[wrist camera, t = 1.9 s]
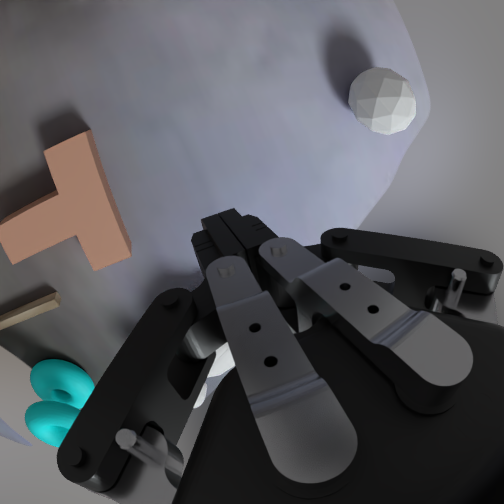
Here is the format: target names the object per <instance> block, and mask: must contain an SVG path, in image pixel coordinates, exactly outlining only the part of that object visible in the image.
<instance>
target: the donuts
mask: <svg viewBox="0 0 504 504" xmlns="http://www.w3.org/2000/svg"><path fill="white" fill-rule="evenodd" d="M30 381H31V385H32V387H33V389H34V391H35V392H36V394H37V395H38V396H39V397H40V398H41V399H42V400H43V401H40V402H36V403H34V404H32V405H31V406H29V407H28V409H27V410H26V413H25V422H26V425H27V427H28V429H29V430H30V432H31V433H32V434H33V435H34V436H36V437H37V438H38V439H40V440H41V441H43V442H45V443H47V444H50V445H52V446H55V447H60V445H61V443H62V441H63V439H64V438H65V436H66V434H67V433H68V431H69V429H70V427H71V426H72V424H73V422H74V421H75V419H76V417H77V416H78V414H79V412H80V411H81V410H79V409H80V408H83V406H84V404H85V403H86V401H87V399H88V398H89V396H90V395H91V393H92V391H93V390H94V384H93V381H92V379H91V378H90V376H89V375H88V374H87V373H86V372H85V371H84V370H82V369H81V368H80V367H78V366H76V365H74V364H72V363H70V362H67V361H64V360H59V359H47V360H43V361H40V362H39V363H37V364H36V365H35V366H34V367H33V369H32V371H31V374H30Z"/></svg>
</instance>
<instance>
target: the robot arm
mask: <svg viewBox="0 0 504 504" xmlns="http://www.w3.org/2000/svg"><path fill="white" fill-rule="evenodd" d="M201 223H202V227H203V230H202V231H199V232H196V233H194V234H193V236H192V239H191V242H192V245H193V248H194V251H195V254H196V257H197V260H198V263H199V266H200V269H201V271H202V273H203V276H204V278H205V279H204V281H203V282H202V284H201V285H200V286H199V287H198V288H196V289H195V290H193V291H192V292H190V291H188V290H187V289H184V288H174V289H170V290H167V291H165V292H163V293H161V294H160V295H158V296H157V297H156V298H155V300H154V301H153V302H152V304H151V305H150V306H149V308H148V309H147V311H146V312H145V313H144V315H143V316H142V318H141V319H140V321H139V322H138V324H137V325H136V326H135V328H134V329H133V331H132V332H131V334H130V335H129V337H128V338H127V340H126V341H125V343H124V344H123V345H122V347H121V348H120V350H119V351H118V353H117V354H116V356H115V357H114V359H113V360H112V362H111V364H110V365H109V367H108V368H107V370H106V371H105V373H104V374H103V376H102V377H101V379H100V380H99V382H98V384H97V385H96V387H95V388H94V390H93V391H92V393H91V395H90V396H89V398H88V399H87V401H86V403H85V404H84V406H83V408H82V409H81V411H80V412H79V414H78V416H77V417H76V419H75V421H74V422H73V424H72V426H71V427H70V429H69V431H68V433H67V434H66V436H65V438H64V439H63V441H62V443H61V445H60V447H59V449H58V453H57V464H58V468H59V470H60V472H61V473H62V475H63V476H64V477H65V478H66V479H68V480H70V481H71V482H73V483H76V484H78V485H80V486H82V487H85V488H86V489H88V490H89V491H91V492H94V493H96V494H99V495H101V496H104V497H107V498H109V499H112V500H114V501H116V502H118V503H119V504H504V327H502V326H500V325H498V321H497V313H496V305H495V298H494V291H495V289H496V287H497V284H498V281H499V279H500V276H501V273H502V270H503V263H502V261H501V260H500V258H499V257H498V256H496V255H495V254H493V253H492V252H489V251H486V250H482V249H476V248H470V247H465V246H459V245H453V244H448V243H441V242H436V241H430V240H423V239H417V238H410V237H403V236H397V235H390V234H383V233H376V232H370V231H362V230H355V229H347V228H334V229H330V230H327V231H325V232H324V233H323V234H322V235H321V244H317V245H311V246H302V245H300V244H299V243H298V242H296V241H295V240H293V239H291V238H285V237H280V238H279V237H278V236H277V235H276V234H275V233H274V232H273V231H272V230H271V229H270V228H268V227H267V226H266V225H265V224H264V223H263V222H262V221H261V220H260V219H259V218H258V217H255V216H252V215H249V214H248V215H245V216H241V215H240V214H239V213H238V212H237V211H236V210H235V209H234V208H232V209H229V210H226V211H223V212H220V213H218V214H215V215H212V216H209V217H206V218H203V219H201ZM358 265H362V266H368V267H374V268H380V269H386V270H389V271H391V272H392V273H393V274H394V276H395V281H394V282H393V283H383V282H377V281H372V280H370V279H369V278H368V277H366V276H365V275H363V274H362V273H361V272H359V271H358ZM226 342H228V345H229V348H230V351H231V354H232V357H233V360H234V362H235V365H236V366H235V367H234V368H233V369H232V370H231V371H229V373H228V374H227V375H226V376H225V377H224V378H223V379H222V381H221V382H220V384H219V385H218V387H217V388H216V390H215V392H214V395H213V397H212V400H211V403H210V405H209V408H208V410H207V413H206V415H205V418H204V421H203V423H202V426H201V429H200V432H199V434H198V436H197V439H196V442H195V444H194V447H193V450H192V452H191V455H190V458H189V460H188V463H187V465H186V468H185V470H184V473H183V476H182V470H183V465H184V458H183V455H182V452H181V451H180V449H179V448H178V447H177V446H176V445H177V442H178V440H179V438H180V436H181V434H182V431H183V429H184V427H185V425H186V423H187V420H188V418H189V416H190V414H191V412H192V409H193V407H194V405H195V403H196V401H197V398H198V396H199V394H200V392H201V390H202V387H203V385H204V383H205V381H206V378H207V376H208V374H209V372H210V369H211V367H212V365H213V363H214V361H215V358H216V350H217V349H218V348H220V347H221V346H222V345H224V344H225V343H226ZM181 476H182V477H181Z"/></svg>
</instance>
